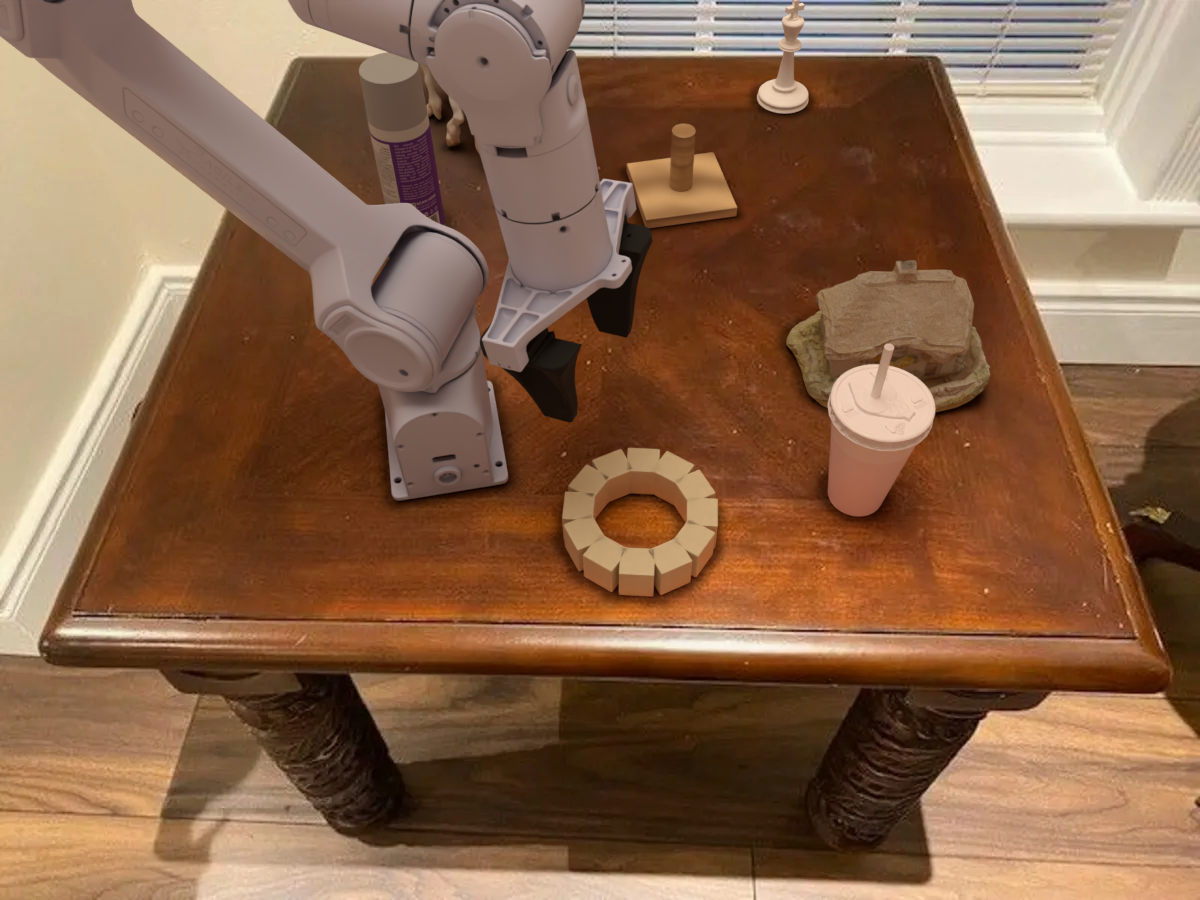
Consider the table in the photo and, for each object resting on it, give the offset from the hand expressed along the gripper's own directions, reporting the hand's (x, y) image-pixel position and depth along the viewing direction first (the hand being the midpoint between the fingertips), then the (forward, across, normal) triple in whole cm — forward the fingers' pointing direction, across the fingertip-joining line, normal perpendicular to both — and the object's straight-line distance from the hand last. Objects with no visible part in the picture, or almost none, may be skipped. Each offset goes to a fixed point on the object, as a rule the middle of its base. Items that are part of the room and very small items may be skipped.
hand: (588, 372), depth 64 cm
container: (+7, +16, +26) cm, 31 cm away
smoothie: (+12, +6, -16) cm, 21 cm away
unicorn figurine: (+6, +29, +33) cm, 44 cm away
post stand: (+10, +30, +8) cm, 33 cm away
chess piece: (+11, +48, +5) cm, 49 cm away
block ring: (+10, -4, -4) cm, 12 cm away
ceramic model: (+12, +18, -14) cm, 26 cm away
